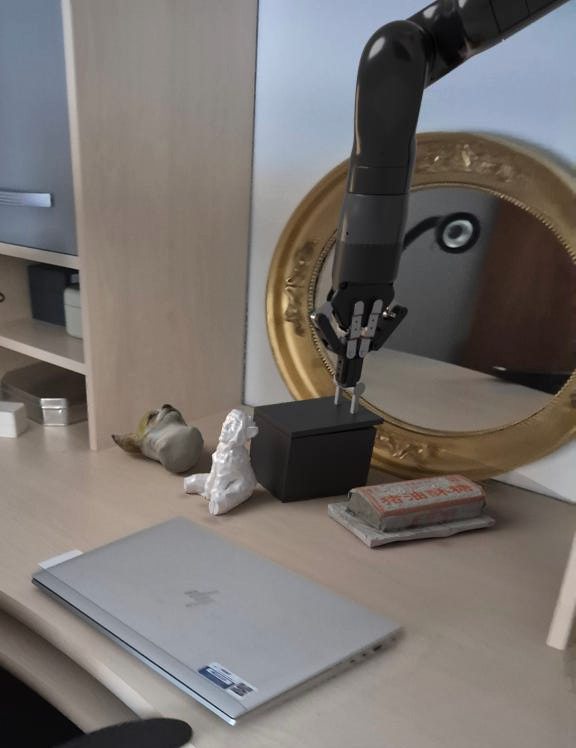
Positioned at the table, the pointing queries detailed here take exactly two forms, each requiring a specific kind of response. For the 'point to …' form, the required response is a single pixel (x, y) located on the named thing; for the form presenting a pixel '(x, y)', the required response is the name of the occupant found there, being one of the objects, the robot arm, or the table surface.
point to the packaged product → (413, 509)
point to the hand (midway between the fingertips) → (346, 385)
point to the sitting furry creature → (228, 467)
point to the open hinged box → (310, 461)
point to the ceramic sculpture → (164, 439)
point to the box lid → (320, 414)
